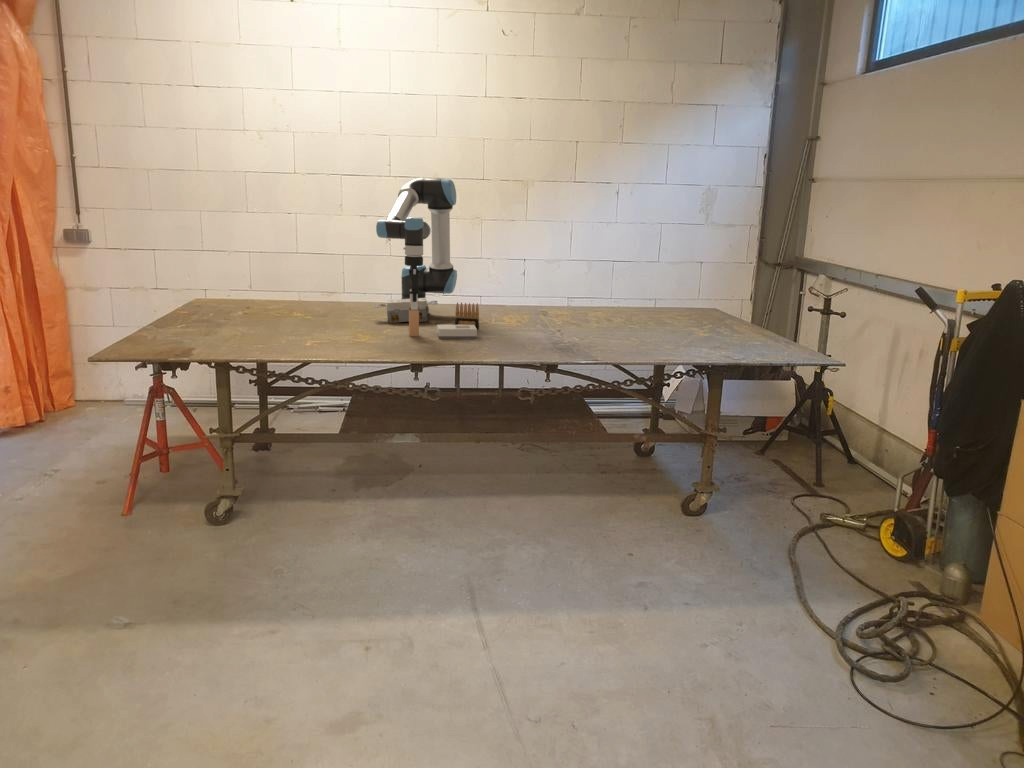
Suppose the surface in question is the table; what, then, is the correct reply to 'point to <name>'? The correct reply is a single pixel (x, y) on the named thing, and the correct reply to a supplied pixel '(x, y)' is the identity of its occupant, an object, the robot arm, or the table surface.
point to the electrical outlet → (404, 309)
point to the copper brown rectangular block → (413, 322)
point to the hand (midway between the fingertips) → (413, 307)
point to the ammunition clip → (467, 315)
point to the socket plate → (456, 332)
